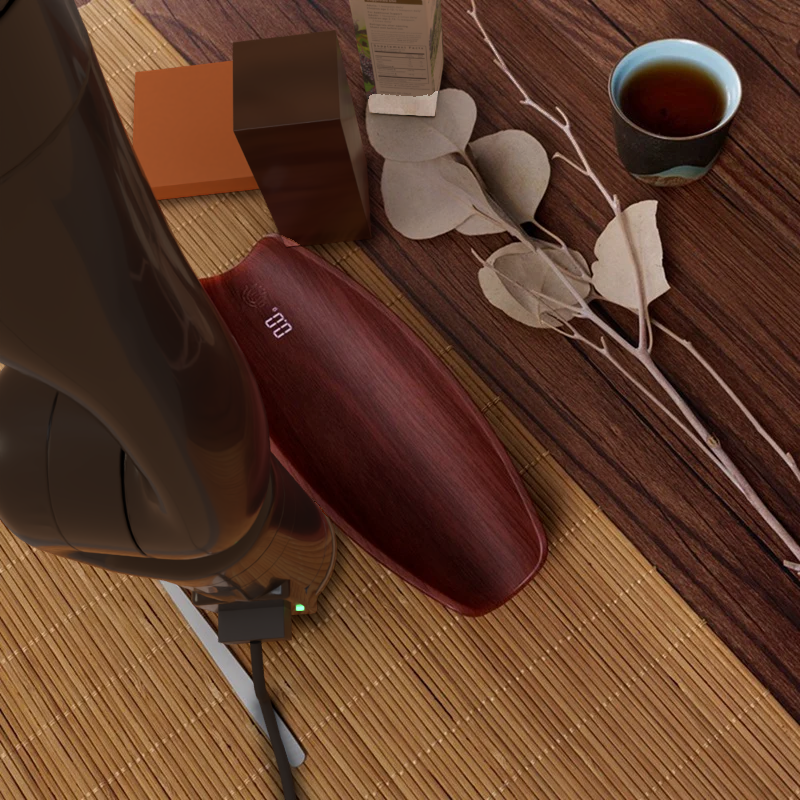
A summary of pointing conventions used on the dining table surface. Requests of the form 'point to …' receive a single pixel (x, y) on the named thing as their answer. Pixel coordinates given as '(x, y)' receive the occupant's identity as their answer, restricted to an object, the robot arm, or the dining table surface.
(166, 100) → the stand
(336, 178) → the column
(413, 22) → the syrup box
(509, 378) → the dining table surface
